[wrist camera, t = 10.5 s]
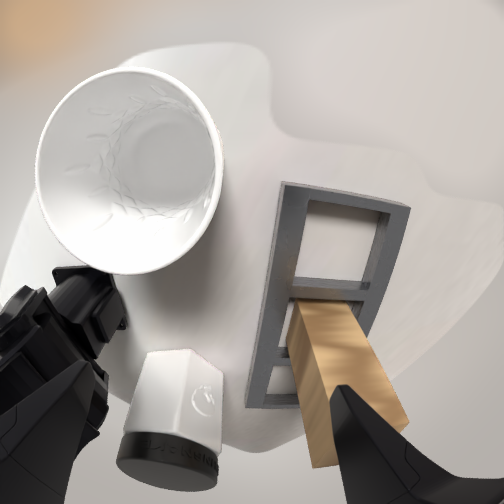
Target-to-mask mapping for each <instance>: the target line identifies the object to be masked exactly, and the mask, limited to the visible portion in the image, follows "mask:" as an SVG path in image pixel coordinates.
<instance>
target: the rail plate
mask: <svg viewBox="0 0 504 504" xmlns="http://www.w3.org/2000/svg"><path fill="white" fill-rule="evenodd" d="M309 199H310V200H316V201H323V202H329V203H336V204H342V205H348V206H354V207H359V208H365V209H371V210H376V211H381V214H380V218H379V222H378V226H377V230H376V234H375V238H374V241H373V245H372V249H371V252H370V256H369V259H368V263H367V266H366V269H365V272H364V276H363V279H362V281H347V280H333V279H319V278H306V277H294V275H295V270H296V265H297V260H298V255H299V250H300V245H301V240H302V235H303V230H304V225H305V219H306V214H307V209H308V203H309ZM410 210H411V207H409V206H407V205H405V204H403V203H400V202H396V201H391V200H387V199H382V198H377V197H372V196H367V195H362V194H357V193H352V192H347V191H341V190H336V189H330V188H324V187H318V186H311V185H305V184H298V183H291V182H284V181H282V182H281V188H280V195H279V202H278V208H277V215H276V221H275V228H274V234H273V240H272V247H271V253H270V259H269V265H268V271H267V277H266V283H265V289H264V295H263V301H262V307H261V313H260V318H259V324H258V330H257V335H256V341H255V347H254V352H253V358H252V363H251V369H250V374H249V379H248V385H247V390H246V395H245V408H266V409H281V408H300V403H299V398H298V394H288V395H272V394H266V391H267V387H268V383H269V380H270V376H271V372H272V368H273V365H282V366H292V365H291V360H290V356H289V351H288V347H278V344H279V340H280V336H281V332H282V328H283V324H284V319H285V315H286V311H287V306H288V302H289V298H290V297H296V298H313V299H333V300H355V303H354V306H353V309H352V311H351V312H352V313H353V315H354V317H355V319H356V320H357V322H358V324H359V326H360V327H361V329H362V331H363V333H364V335H365V336H366V338H367V336H368V334H369V331H370V329H371V327H372V324H373V322H374V320H375V317H376V315H377V312H378V310H379V307H380V305H381V302H382V299H383V297H384V294H385V291H386V289H387V286H388V283H389V280H390V277H391V274H392V272H393V269H394V266H395V262H396V259H397V256H398V253H399V250H400V246H401V243H402V240H403V236H404V233H405V229H406V225H407V221H408V218H409V214H410Z"/></svg>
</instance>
